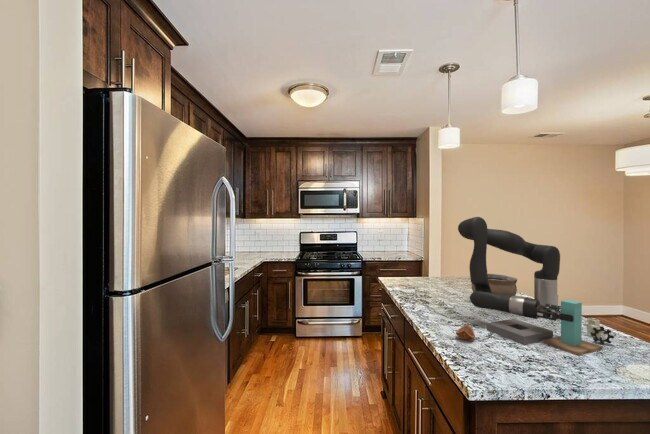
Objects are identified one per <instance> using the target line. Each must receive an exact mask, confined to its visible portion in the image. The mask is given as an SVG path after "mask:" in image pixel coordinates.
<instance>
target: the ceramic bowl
mask: <svg viewBox="0 0 650 434" xmlns="http://www.w3.org/2000/svg"><path fill="white" fill-rule="evenodd" d="M487 274H488V282H489V285H490V288H491V292H492V294H504V295H510V296H516V295H517V291H518V289H517V282H518V278H516V277H512V276H510V275H509V276H508V275H504V274H497V273H487ZM471 290H472V293H473V292H475V287H474V285H473V284H472V283H471Z"/></svg>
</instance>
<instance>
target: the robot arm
mask: <svg viewBox="0 0 650 434" xmlns="http://www.w3.org/2000/svg"><path fill="white" fill-rule="evenodd" d="M457 230H458V233H459V235H460V236H461V237H462V238H464V239H466V240H470V241H473V250H472V254H471V257H470V259H469V260H470V261H469V277H470V282H471V285H472V284H473V285H474V287H475V292H473V291H472V293H470V296H469V300H470V303H471V304H472V305H473V306H474V307H475V308H481V309H485V310H492V311H493V310H495V311H499V312H502V313H509V314H513V315H515V316H520V317H523V318H524V317H525V318H529V319H533V320H538V319H539V318H540V319H545V320H549V321H554V322H556V321H561V320H564V321H569V322H573V321H574V317H573V316H572V315H568V314H562V313H561V305H559V294H558V277H559V274H560V267H561V266H560V265H561V253H560V250H559V249H558V247H556V246H554V245H547V244H537V243H532V242H528V241H526V240H525V239H524V238H523V237H522V236H521V235H518V234H517V233H514V232H511V231H508V230H503V229H496V228H495V229H493V228H488V224H487V222H486V220H485V219H484V218H483V217H480V216H474V217H471V218H470V217H469V218H467V219H464V220H463V221H461V222H460V223H459V224H458V226H457ZM487 246H491V247H494V248H496V249H499V250H501V251H504V252H507V253H511V254H514V255H518V256H522V257H524V258H526V259H529V260H530V261H532V262H534V263H537V264H541V265H542V268H541V269H540V270H536V271H534V274H533V281H534V282H533V287H534V290H533V294H534V295H533V296H534V297H533V298H530V297H525V296H520V295H518V296H516V295H515V296H510V295H504V294H492V292H491V288H490V285H489V282H488V274H489V273H488V267H487V249H488V248H487Z"/></svg>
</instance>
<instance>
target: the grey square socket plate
mask: <svg viewBox="0 0 650 434" xmlns="http://www.w3.org/2000/svg"><path fill="white" fill-rule="evenodd" d="M486 331H487V332H490V333H491V334H492V333H493V334H495V335H498V336H500V337H503V338H506V339H508V340H511V341H513V342H515V343H518V344H521V345H524V346H526V345H530V344H531V345H532V344H535V343H538V342H542V340H544V339H549V338H554V330H551V329H548V328H544V327H542V326H540V325H535V324H532V323H528V322H527V321H523V320H520V319H516V318H509V319H502V320H498V321H497V320H496V321H492V322H487V323H486Z"/></svg>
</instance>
